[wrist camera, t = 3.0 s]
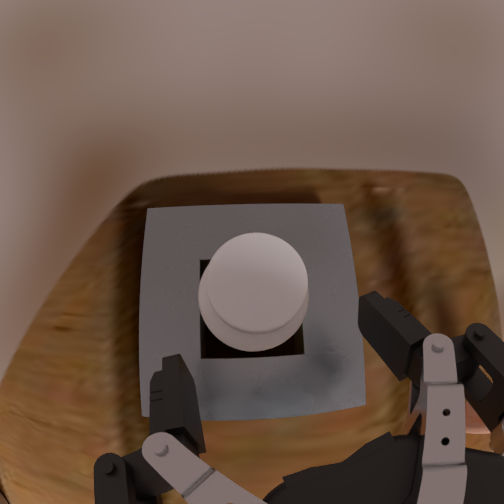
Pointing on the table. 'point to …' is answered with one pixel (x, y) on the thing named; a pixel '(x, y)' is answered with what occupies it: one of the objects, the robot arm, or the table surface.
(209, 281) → the supplement bottle
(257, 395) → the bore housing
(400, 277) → the table surface
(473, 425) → the grandmother figurine
